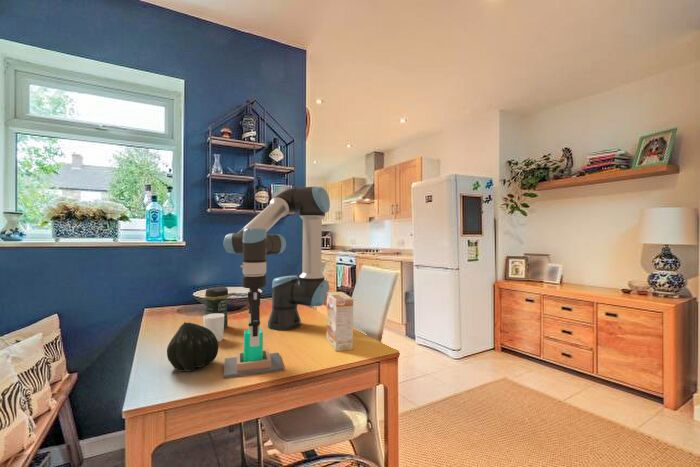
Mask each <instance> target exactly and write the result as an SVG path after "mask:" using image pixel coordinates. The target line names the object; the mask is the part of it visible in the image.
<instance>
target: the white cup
mask: <svg viewBox="0 0 700 467" xmlns="http://www.w3.org/2000/svg"><path fill="white" fill-rule="evenodd" d="M202 319H203V327H205V328H207V329H209V330H210V331H212V332H213V333H214V335H215V337H216V339H217V341H218V343H219V342H221V341H223V339H224V329H225V328H224V314H220V313H214V314H208V315H206V314H205V315H203V318H202Z"/></svg>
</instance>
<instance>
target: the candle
mask: <svg viewBox="0 0 700 467" xmlns="http://www.w3.org/2000/svg"><path fill="white" fill-rule="evenodd" d="M263 350H264V331H263V329H261V328H260V332H259V346H254V347H250V330H249V329H247V330H244V331H243V352H244V362H251V361H260V360H263Z"/></svg>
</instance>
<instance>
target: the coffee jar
mask: <svg viewBox="0 0 700 467" xmlns="http://www.w3.org/2000/svg"><path fill="white" fill-rule="evenodd" d="M228 297H229V290H228V287H227V286H226V287H225V286H216V287H210V288H207V289H206V290H205V295H204V298H205V301H206V302H205V303H206V304H205V305H206V309H205V315H208V314H214V313H220V314H224V329H225V328H228V325H229V324H228V323H229V322H228V309H227V307H228V306H227V304H228V303H227V302H228Z"/></svg>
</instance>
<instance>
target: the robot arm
mask: <svg viewBox="0 0 700 467" xmlns="http://www.w3.org/2000/svg"><path fill="white" fill-rule="evenodd" d="M330 207H331V202H330V196H329V194H328V191H327V190H326V189H325V187H322V186H302V187H290V188H287V189H285V190H283V191H281V192H279V193H278V194H277V195H275V196H274V197H273V198H272V199H271V200H270V201H269V204H268V205H267V206H266V207H265V208H264V209H263V210H261V211H260V212H259V213H258V214H257V215H255V217H254V218H252V219H251V220H250V221H249V222H248V223H247V224H246V225H245V226H244V227H243V228H241V229H240V230H239V231H238V232H237V233H236V232H232V233H231V232H230V233H228V234H226V235H225V237H224V239H223V248H224V250H225V251H226V253H229V254H235V255H242V264H241V265H240V268H241V269H242V274H243V276H242V279H241V284H242V285H241V286H242V288H245V289H249V291H247V299H248V330H250V347H254V346H259V332H260V329H261V328H260V324H261V321H260V320H261V317H260V316H261V315H260V314H261V313H260V311H261V310H260V306H261V299H262V298H261V297H262V296H261V295H262V293H261V291H259V288H260V289H261V288H264V287H266V285H267V276H266V273H267V256H273V255H274V256H276V255H279V254H282V253H284V251H285V250H286V248H287V241H286V238H285V237H284V235H281V234H278V233H267V232H268V231H270V230H271V228H272V227H274V225H275V224H276V223H277V222H278V221H279V220H280V219H281V218H283V217H287V215H288V214H293V213H295V214H296V213H299V218H301V220H302V261H301V262H302V264H301V265H302V267H301V268H302V273H300V274H299V276H298V275H286V276H280V277H275V278H273V280H272V283H271V284H272V286H271V301H272V302H271V311H270V315H269V317H268V320H267V327H268V328H269V329H271V330H276V331H287V330H289V331H290V330H295V329H297V328H299V327H300V326H301V324H302V320H301V317H300V313H299V311H298V306H300V305H301V306H309V307H321V306H323V305H324V304H325V303H326V302H327V292H330V285H329V281H327V280H326V279H325V275H324V274H323V273H322V231H323V230H322V227H323V226H322V222H323V219H324V218H326V213H328V212H329V211H330Z"/></svg>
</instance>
